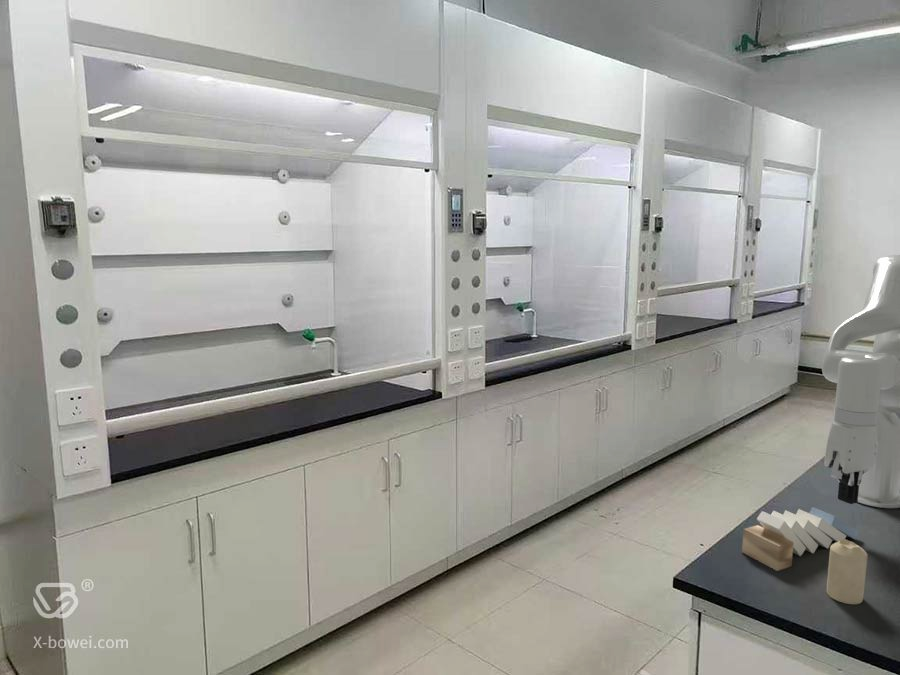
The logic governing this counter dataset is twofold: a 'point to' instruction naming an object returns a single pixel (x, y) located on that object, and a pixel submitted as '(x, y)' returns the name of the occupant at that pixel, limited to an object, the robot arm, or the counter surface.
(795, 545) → the domino
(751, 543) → the end block
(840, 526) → the domino
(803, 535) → the domino
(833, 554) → the candle
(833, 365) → the robot arm
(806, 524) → the domino
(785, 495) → the counter surface
